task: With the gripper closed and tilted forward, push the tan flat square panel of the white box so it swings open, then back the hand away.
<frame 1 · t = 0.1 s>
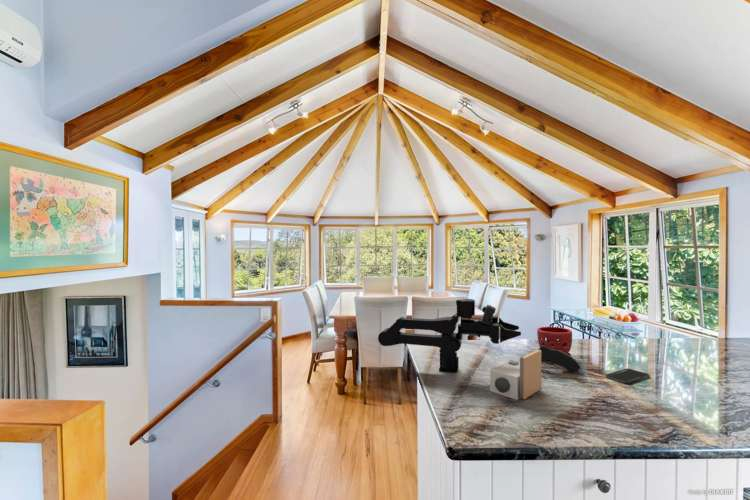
hand: (519, 330, 128), 17 cm above the worktop, tool horizontal, fingers open, 9 cm apart
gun: (559, 371, 134), on the worktop
tan flat square panel: (530, 373, 113), point 7 cm above the worktop, hinge at 0.0°
plant pot: (554, 358, 150), on the worktop
white box: (513, 389, 117), on the worktop
phone: (627, 378, 127), on the worktop
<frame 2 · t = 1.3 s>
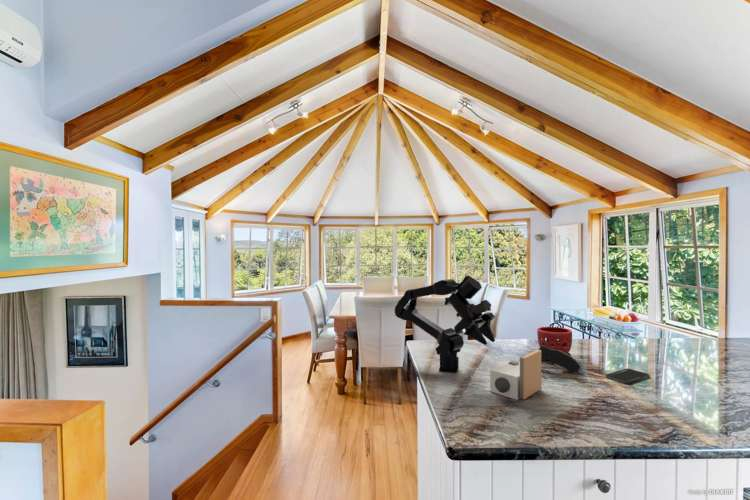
hand: (490, 342, 123), 14 cm above the worktop, tool tilted 45°, fingers open, 5 cm apart
nothing on the worktop moved.
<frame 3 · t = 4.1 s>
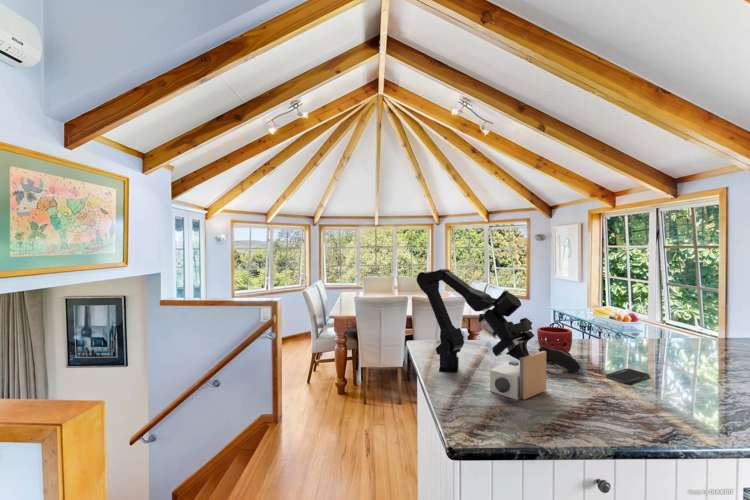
hand: (531, 365, 113), 9 cm above the worktop, tool tilted 45°, fingers closed, pressing on tan flat square panel
tan flat square panel: (533, 374, 112), point 7 cm above the worktop, hinge at 8.2°, touching gripper
everything else where it was.
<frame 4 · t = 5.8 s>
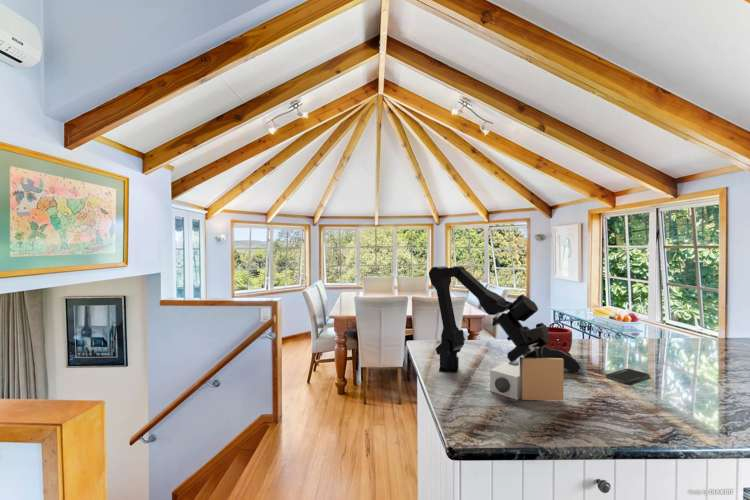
hand: (547, 372, 109), 8 cm above the worktop, tool tilted 45°, fingers closed
tan flat square panel: (541, 378, 109), point 7 cm above the worktop, hinge at 46.4°, touching gripper
everything else where it was.
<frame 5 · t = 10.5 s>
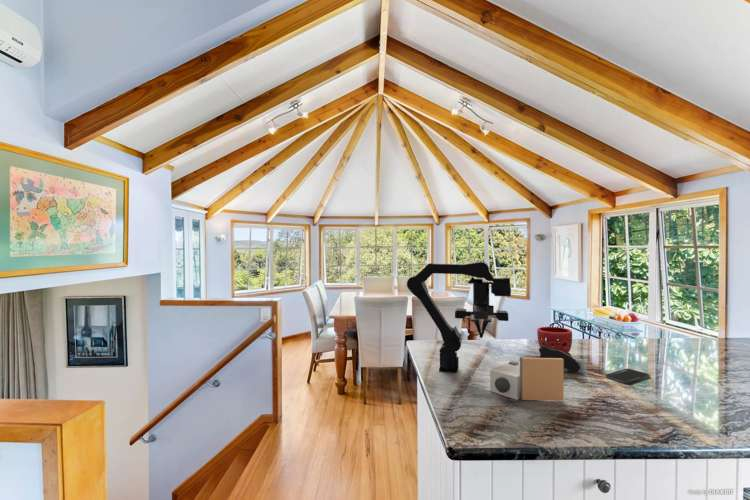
hand: (481, 337, 133), 13 cm above the worktop, tool pointing down, fingers closed
tan flat square panel: (541, 378, 109), point 7 cm above the worktop, hinge at 46.4°
everything else where it was.
at the end: tan flat square panel at +46° (first picture: +0°) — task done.
